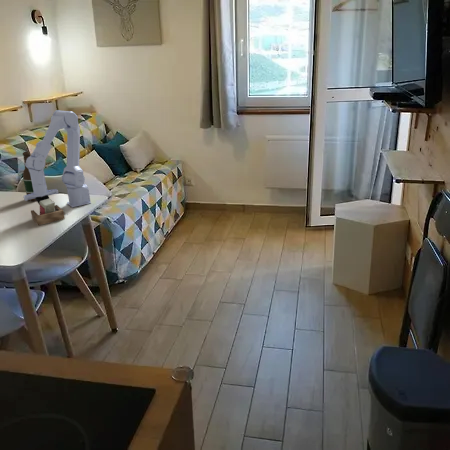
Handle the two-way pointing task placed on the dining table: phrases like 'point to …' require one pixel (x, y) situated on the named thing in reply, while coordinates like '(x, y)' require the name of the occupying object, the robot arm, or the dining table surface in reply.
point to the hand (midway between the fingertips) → (44, 212)
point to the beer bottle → (27, 177)
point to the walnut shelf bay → (48, 216)
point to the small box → (47, 206)
